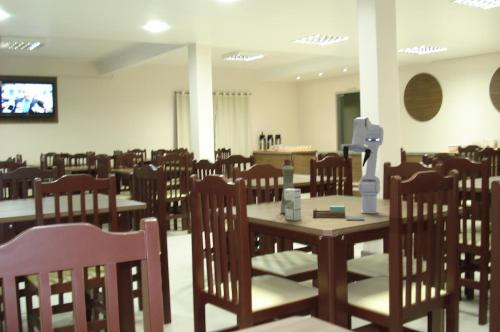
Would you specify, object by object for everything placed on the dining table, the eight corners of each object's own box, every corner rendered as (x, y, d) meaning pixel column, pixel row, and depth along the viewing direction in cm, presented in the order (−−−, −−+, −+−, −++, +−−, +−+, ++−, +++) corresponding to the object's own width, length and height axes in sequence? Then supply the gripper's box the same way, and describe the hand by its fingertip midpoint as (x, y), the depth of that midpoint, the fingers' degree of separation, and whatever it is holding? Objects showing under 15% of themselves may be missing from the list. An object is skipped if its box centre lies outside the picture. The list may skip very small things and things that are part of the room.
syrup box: (301, 219, 251) (301, 188, 251) (294, 221, 247) (293, 189, 246) (291, 218, 255) (291, 187, 254) (284, 219, 251) (283, 188, 250)
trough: (314, 214, 265) (314, 207, 264) (345, 215, 262) (345, 207, 262) (313, 217, 256) (313, 210, 256) (345, 217, 254) (345, 210, 254)
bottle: (284, 211, 279) (283, 157, 278) (300, 212, 275) (299, 157, 274) (277, 213, 272) (276, 158, 270) (294, 214, 268) (293, 158, 266)
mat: (346, 217, 253) (346, 216, 253) (363, 217, 252) (363, 216, 252) (346, 220, 245) (346, 219, 245) (364, 220, 244) (364, 219, 244)
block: (330, 215, 261) (330, 205, 261) (344, 216, 260) (344, 205, 260) (330, 217, 257) (329, 206, 257) (344, 217, 256) (344, 206, 256)
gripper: (343, 132, 245) (338, 156, 239) (375, 136, 243) (372, 161, 236) (342, 140, 251) (338, 165, 245) (374, 145, 249) (370, 170, 242)
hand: (354, 164), depth 241 cm, fingers open, 7 cm apart
